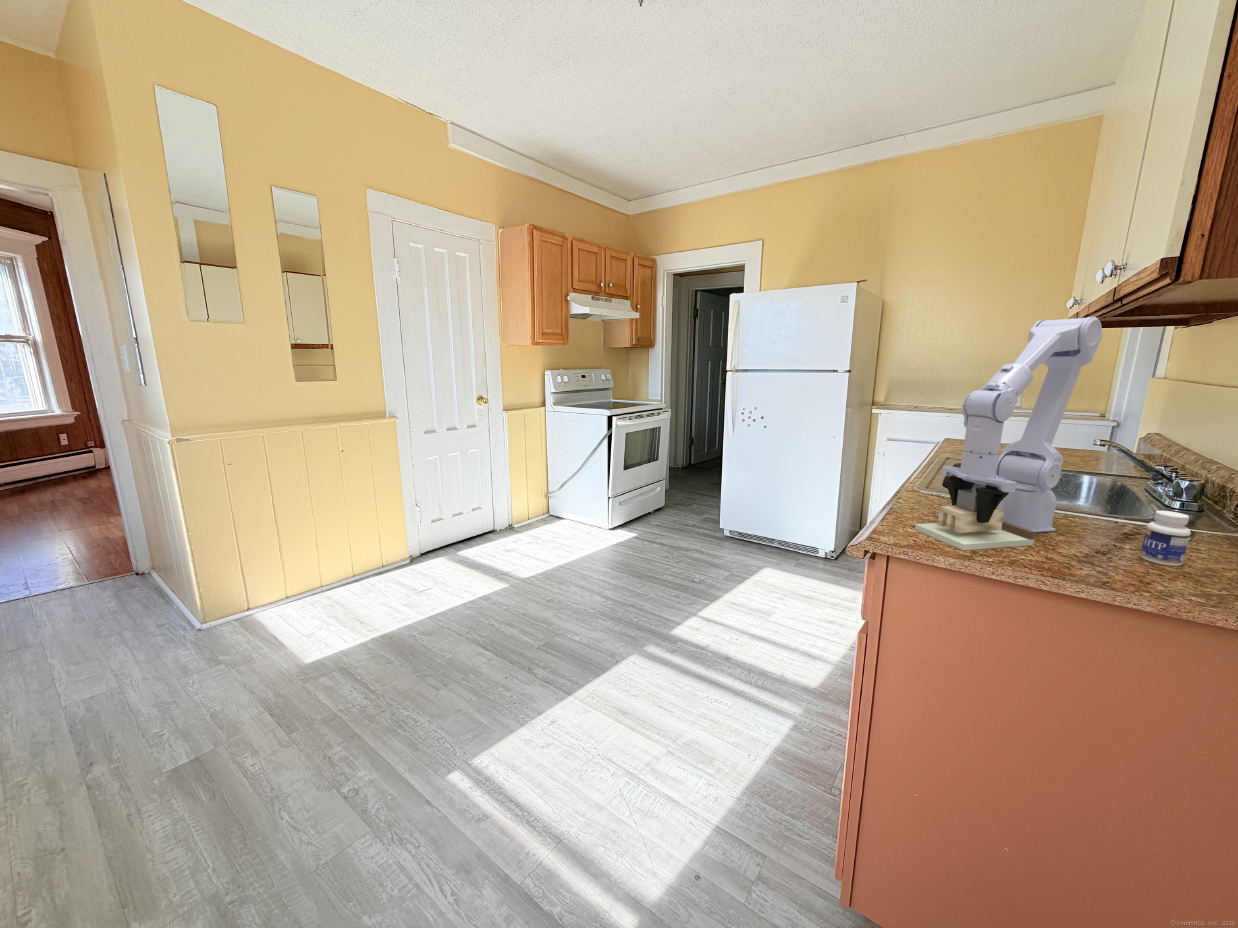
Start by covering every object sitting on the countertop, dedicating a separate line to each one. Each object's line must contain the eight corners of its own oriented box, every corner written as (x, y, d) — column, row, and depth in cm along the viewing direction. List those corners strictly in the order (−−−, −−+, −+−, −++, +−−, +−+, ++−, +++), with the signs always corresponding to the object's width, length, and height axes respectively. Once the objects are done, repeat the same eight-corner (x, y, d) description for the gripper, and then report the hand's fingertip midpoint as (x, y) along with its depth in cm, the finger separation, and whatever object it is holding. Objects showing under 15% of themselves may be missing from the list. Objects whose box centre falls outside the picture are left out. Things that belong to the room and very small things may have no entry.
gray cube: (972, 505, 100) (975, 489, 100) (990, 511, 96) (993, 493, 96) (956, 506, 100) (958, 489, 99) (973, 512, 96) (975, 494, 95)
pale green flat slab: (978, 525, 107) (980, 513, 106) (1033, 545, 95) (1035, 531, 95) (914, 529, 104) (916, 517, 104) (963, 550, 93) (965, 536, 92)
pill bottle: (1130, 554, 91) (1141, 509, 89) (1160, 555, 90) (1171, 509, 89) (1161, 566, 85) (1172, 518, 84) (1192, 566, 85) (1204, 518, 83)
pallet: (978, 522, 102) (981, 503, 102) (1000, 529, 98) (1004, 510, 97) (937, 524, 101) (939, 506, 100) (958, 532, 96) (960, 513, 95)
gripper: (933, 446, 102) (924, 508, 105) (997, 459, 88) (986, 530, 91) (962, 445, 103) (953, 506, 106) (1030, 458, 89) (1017, 528, 92)
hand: (970, 517), depth 99 cm, fingers closed on pallet, 5 cm apart
